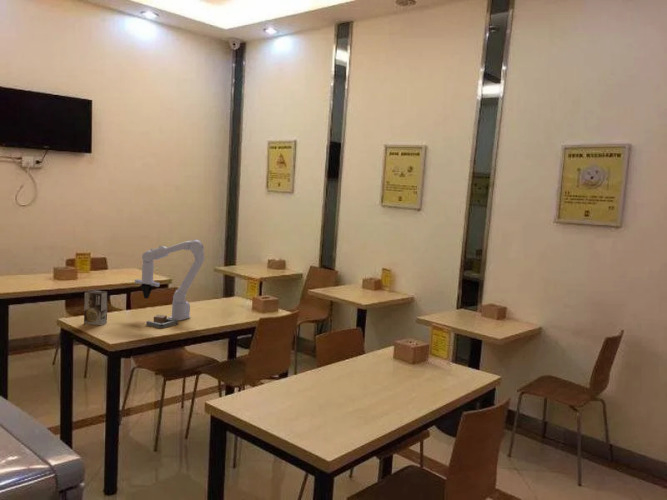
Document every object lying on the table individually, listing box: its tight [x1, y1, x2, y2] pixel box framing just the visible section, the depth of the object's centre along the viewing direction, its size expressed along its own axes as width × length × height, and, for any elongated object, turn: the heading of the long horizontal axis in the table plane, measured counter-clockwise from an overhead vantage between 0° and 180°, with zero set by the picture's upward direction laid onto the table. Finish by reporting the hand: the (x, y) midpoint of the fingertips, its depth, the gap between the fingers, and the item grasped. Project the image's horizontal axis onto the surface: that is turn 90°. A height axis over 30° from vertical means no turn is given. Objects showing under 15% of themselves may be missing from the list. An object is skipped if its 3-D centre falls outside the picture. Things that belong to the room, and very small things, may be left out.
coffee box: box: [83, 289, 109, 326], centre depth 272 cm, size 9×6×16 cm
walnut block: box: [153, 314, 168, 324], centre depth 282 cm, size 5×5×4 cm
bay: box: [145, 317, 179, 329], centre depth 280 cm, size 12×10×2 cm
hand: (146, 298), depth 292 cm, fingers closed
